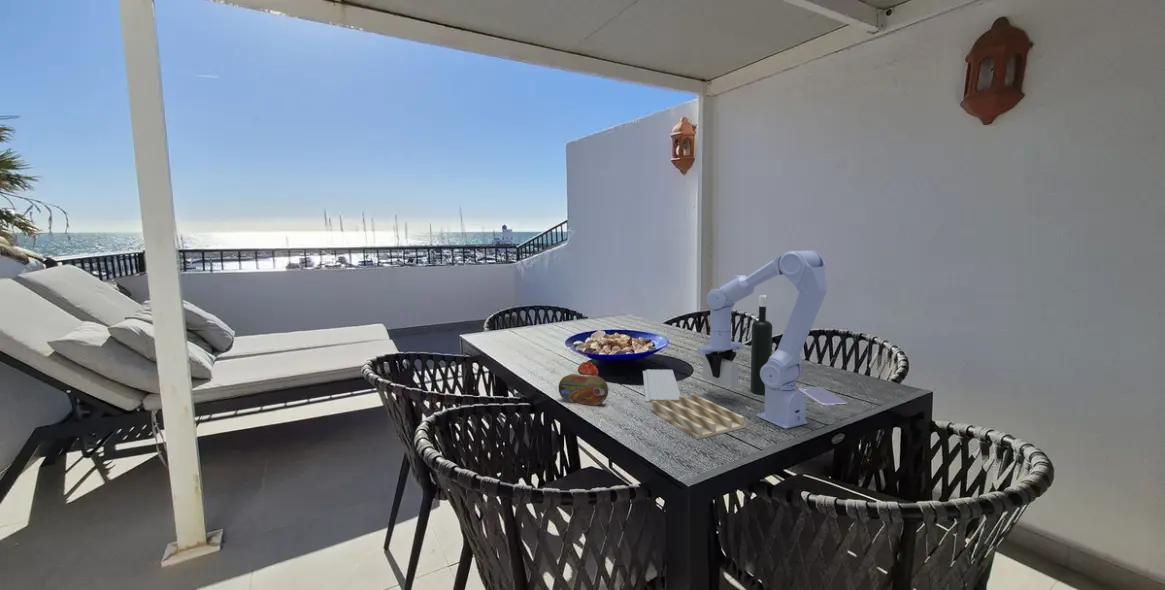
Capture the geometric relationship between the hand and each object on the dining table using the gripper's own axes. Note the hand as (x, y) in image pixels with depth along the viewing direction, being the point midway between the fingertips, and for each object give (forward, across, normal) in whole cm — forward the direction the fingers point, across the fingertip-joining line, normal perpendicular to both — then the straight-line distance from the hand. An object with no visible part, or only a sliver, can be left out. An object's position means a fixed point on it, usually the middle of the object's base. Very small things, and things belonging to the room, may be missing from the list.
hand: (720, 376), depth 131 cm
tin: (+8, +36, -17) cm, 41 cm away
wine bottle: (+8, -16, 0) cm, 18 cm away
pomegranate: (+7, +27, -34) cm, 44 cm away
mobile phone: (+8, -29, +11) cm, 32 cm away
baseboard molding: (+8, +8, -20) cm, 23 cm away
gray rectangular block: (+2, 0, 0) cm, 2 cm away
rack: (+7, +15, +8) cm, 18 cm away
